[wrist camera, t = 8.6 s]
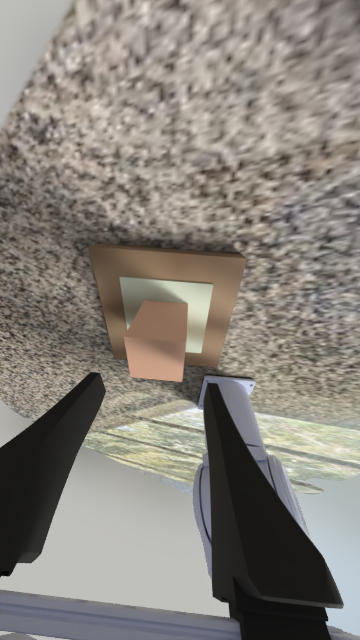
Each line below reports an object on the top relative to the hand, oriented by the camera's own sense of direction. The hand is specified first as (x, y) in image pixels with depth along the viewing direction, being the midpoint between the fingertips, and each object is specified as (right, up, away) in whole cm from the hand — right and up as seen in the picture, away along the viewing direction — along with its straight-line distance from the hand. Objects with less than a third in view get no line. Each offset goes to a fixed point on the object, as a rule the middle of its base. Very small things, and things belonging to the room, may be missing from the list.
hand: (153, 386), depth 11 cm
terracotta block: (0, +5, +7) cm, 8 cm away
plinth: (0, +6, +9) cm, 10 cm away
